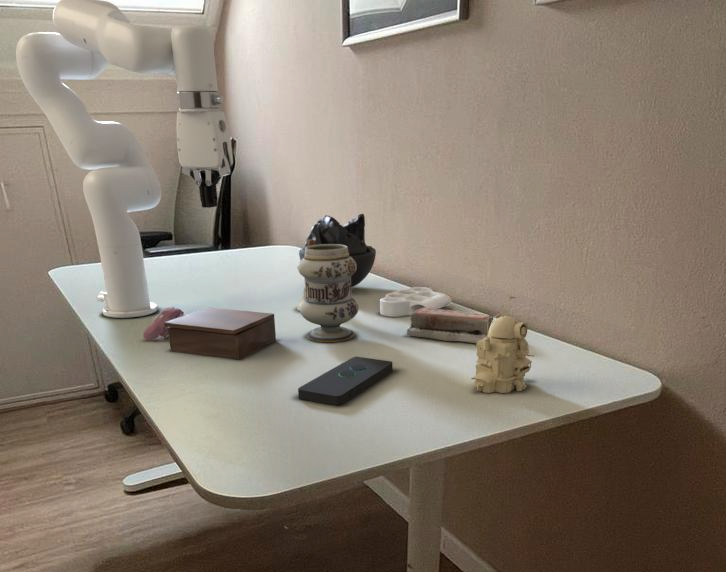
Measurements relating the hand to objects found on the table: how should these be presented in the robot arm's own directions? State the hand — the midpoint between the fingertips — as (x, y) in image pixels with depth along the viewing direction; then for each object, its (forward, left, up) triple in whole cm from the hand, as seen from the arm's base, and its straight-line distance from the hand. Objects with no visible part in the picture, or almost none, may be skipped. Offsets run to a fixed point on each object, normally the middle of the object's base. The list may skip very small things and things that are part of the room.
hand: (209, 206), depth 143 cm
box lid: (+7, -10, -20) cm, 24 cm away
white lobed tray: (+32, +32, -25) cm, 52 cm away
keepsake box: (+7, -10, -25) cm, 28 cm away
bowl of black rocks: (+6, +46, -25) cm, 53 cm away
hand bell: (+10, +24, -25) cm, 36 cm away
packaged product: (+48, +14, -25) cm, 56 cm away
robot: (+65, -14, -25) cm, 71 cm away
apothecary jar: (+24, +4, -25) cm, 35 cm away
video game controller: (-9, -8, -25) cm, 28 cm away
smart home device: (+40, -22, -25) cm, 52 cm away
